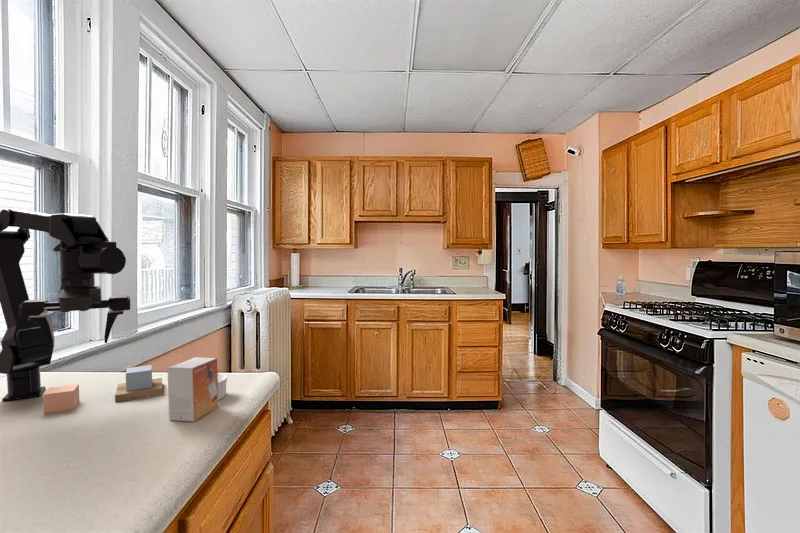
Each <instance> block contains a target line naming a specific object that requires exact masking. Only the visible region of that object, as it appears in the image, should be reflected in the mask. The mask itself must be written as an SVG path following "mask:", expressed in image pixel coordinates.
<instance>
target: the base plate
mask: <svg viewBox="0 0 800 533" xmlns="http://www.w3.org/2000/svg"><path fill="white" fill-rule="evenodd" d="M163 393H164V392H163V378H162V377H159V378H154V379H153V378H152V387H151V388H144V389H137V390H130V391H126V382H123V383H118V384H117V387H116V390H115V395H114V399H115V401H114V402H115V403H117V402H124V400H125V401H130V400H129V399H131V400H137V398H138V399H143V397H144V398H148V397H147V396H151V397H155V395H157V396H162V395H161V394H163Z"/></svg>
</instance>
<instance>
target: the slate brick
mask: <svg viewBox="0 0 800 533" xmlns="http://www.w3.org/2000/svg"><path fill="white" fill-rule="evenodd" d="M152 367H153V365H152V364H149V365H140V366H134V367H127V368H126V370H125V383H126V391H130V390H137V389H144V388H151V387H152V379H153V368H152Z"/></svg>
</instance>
